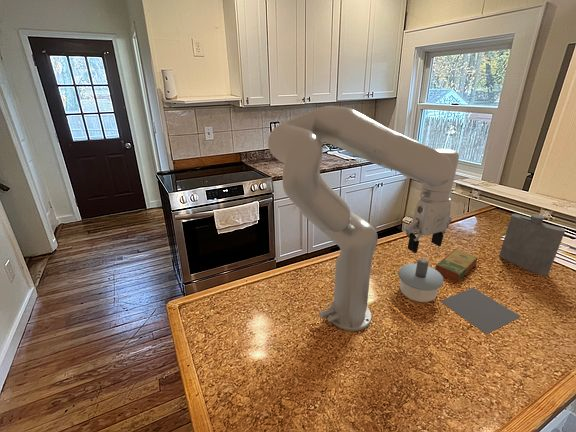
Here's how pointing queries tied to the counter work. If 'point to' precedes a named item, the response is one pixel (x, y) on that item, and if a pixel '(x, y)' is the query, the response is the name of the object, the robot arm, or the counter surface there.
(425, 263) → the lid
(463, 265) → the carton
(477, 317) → the mat
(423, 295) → the bowl
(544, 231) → the hip flask
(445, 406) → the counter surface
